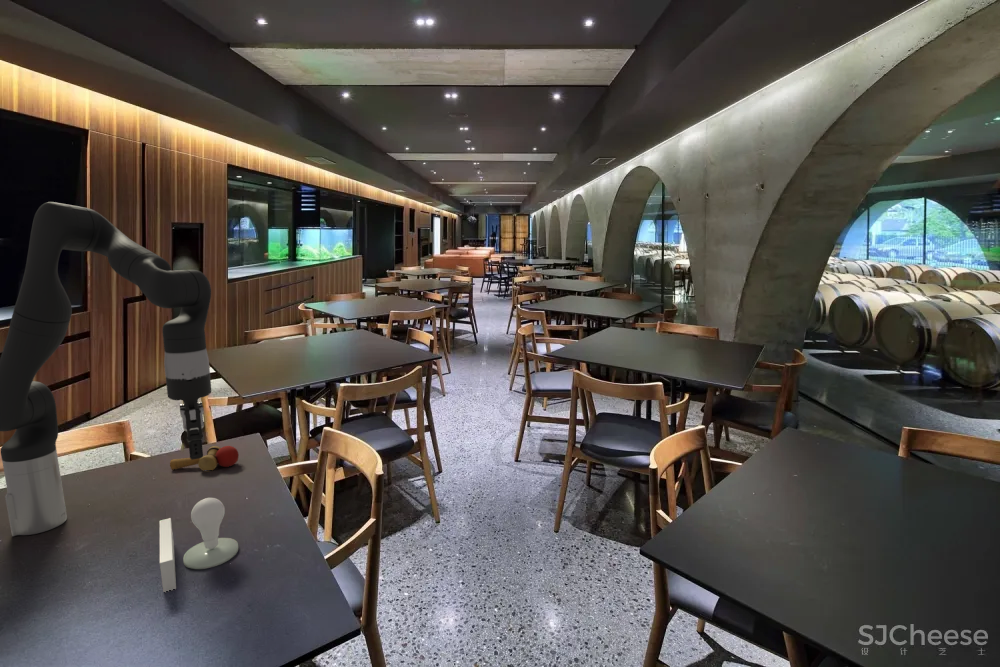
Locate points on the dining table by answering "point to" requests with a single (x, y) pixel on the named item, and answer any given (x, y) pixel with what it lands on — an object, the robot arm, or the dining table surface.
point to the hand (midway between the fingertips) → (195, 450)
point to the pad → (210, 554)
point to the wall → (167, 555)
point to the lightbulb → (208, 520)
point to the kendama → (210, 459)
